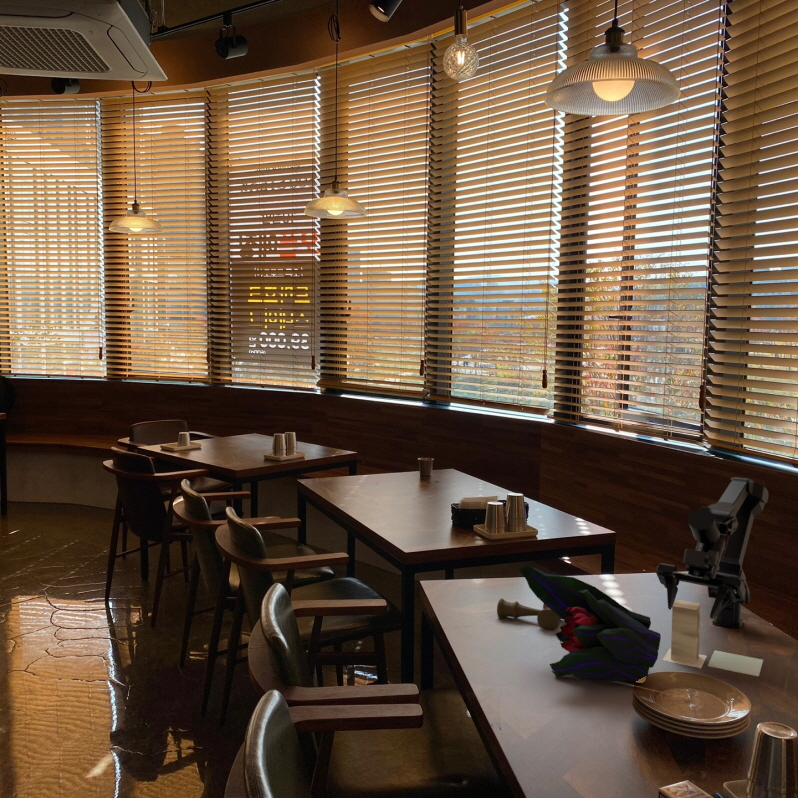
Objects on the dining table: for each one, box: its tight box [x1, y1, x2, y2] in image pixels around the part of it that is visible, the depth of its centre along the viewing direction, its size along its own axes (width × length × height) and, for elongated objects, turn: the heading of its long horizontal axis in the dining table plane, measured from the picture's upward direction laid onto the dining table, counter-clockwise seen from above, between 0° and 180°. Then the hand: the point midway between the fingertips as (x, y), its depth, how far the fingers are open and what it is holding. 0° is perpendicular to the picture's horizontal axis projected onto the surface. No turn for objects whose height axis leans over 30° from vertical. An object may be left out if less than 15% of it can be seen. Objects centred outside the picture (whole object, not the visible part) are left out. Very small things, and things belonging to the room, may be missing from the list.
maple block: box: [670, 599, 702, 664], centre depth 165 cm, size 5×5×12 cm
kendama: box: [496, 598, 562, 632], centre depth 188 cm, size 6×10×20 cm
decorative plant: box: [518, 565, 662, 684], centre depth 158 cm, size 21×26×30 cm
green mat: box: [707, 650, 764, 677], centre depth 163 cm, size 10×10×1 cm
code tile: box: [662, 647, 708, 669], centre depth 166 cm, size 8×8×1 cm
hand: (689, 613), depth 167 cm, fingers open, 9 cm apart
